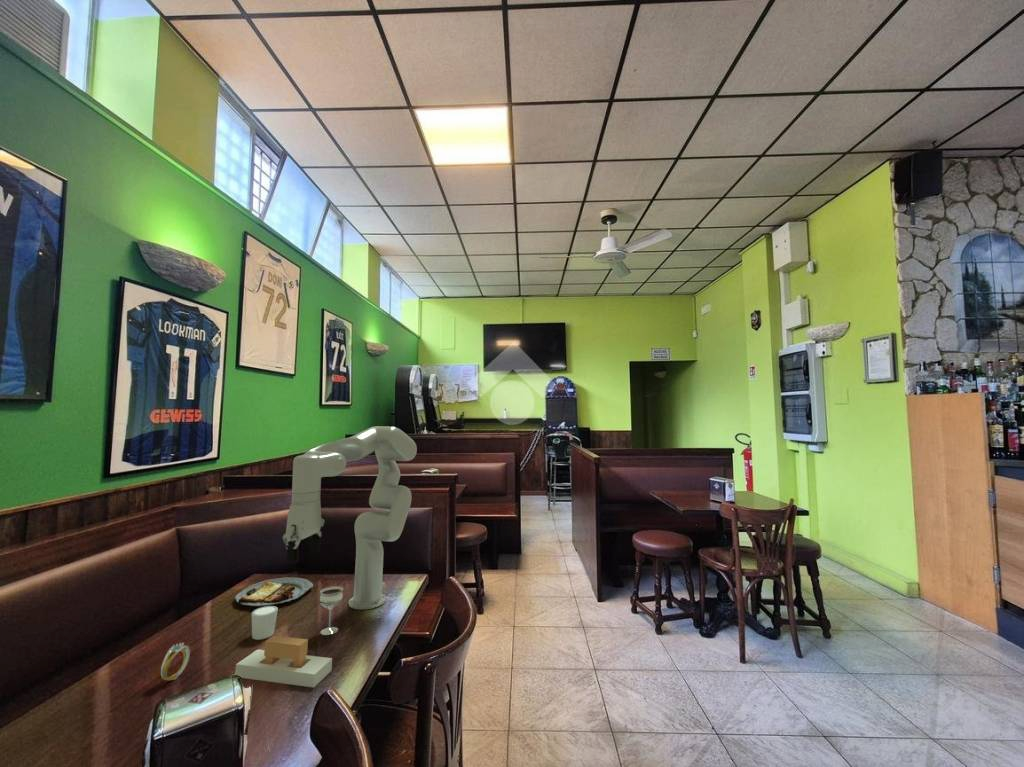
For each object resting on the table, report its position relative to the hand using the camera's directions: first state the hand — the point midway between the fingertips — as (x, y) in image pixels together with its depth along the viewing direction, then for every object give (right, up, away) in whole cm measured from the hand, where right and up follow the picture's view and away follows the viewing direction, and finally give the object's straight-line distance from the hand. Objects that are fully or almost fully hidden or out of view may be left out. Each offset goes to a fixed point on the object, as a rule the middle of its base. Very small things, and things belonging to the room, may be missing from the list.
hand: (304, 556), depth 118 cm
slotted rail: (+3, -24, -15) cm, 28 cm away
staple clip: (+3, -24, -15) cm, 28 cm away
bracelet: (-23, -23, -18) cm, 37 cm away
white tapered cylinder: (-14, -26, +4) cm, 30 cm away
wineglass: (+4, -26, +7) cm, 27 cm away
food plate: (-27, -29, +32) cm, 51 cm away
